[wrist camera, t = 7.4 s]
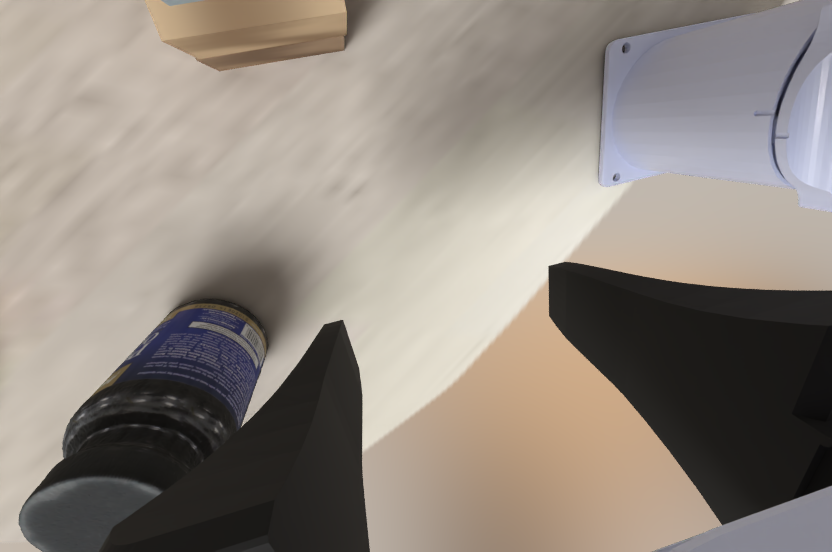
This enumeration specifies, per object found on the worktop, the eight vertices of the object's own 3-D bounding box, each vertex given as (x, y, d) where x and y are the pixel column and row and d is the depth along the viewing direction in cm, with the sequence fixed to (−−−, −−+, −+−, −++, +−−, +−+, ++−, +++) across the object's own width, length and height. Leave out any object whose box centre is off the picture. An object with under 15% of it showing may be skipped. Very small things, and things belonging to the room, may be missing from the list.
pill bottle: (167, 286, 19) (-25, 451, 9) (277, 307, 21) (217, 464, 11) (159, 371, 21) (-6, 583, 11) (261, 383, 23) (197, 576, 13)
